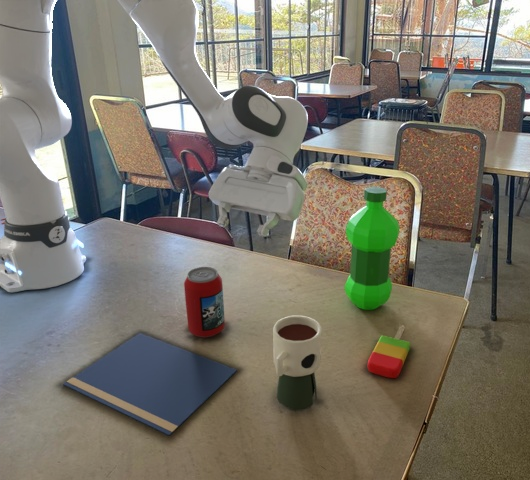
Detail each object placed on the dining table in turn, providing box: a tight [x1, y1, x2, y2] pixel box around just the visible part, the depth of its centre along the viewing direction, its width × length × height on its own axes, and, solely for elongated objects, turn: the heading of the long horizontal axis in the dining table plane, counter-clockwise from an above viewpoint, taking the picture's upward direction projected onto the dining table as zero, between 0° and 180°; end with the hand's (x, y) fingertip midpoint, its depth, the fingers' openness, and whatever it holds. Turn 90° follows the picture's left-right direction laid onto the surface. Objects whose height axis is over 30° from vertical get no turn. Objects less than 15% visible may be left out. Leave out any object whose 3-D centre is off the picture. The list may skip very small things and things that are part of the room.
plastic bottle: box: [344, 186, 400, 311], centre depth 96 cm, size 10×10×25 cm
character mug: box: [272, 314, 323, 411], centre depth 72 cm, size 11×7×13 cm, turn 153°
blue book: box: [62, 332, 238, 436], centre depth 78 cm, size 22×16×1 cm
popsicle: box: [367, 324, 411, 379], centre depth 86 cm, size 6×15×2 cm, turn 157°
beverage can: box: [183, 266, 226, 338], centre depth 88 cm, size 7×7×12 cm
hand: (240, 230), depth 94 cm, fingers open, 8 cm apart
